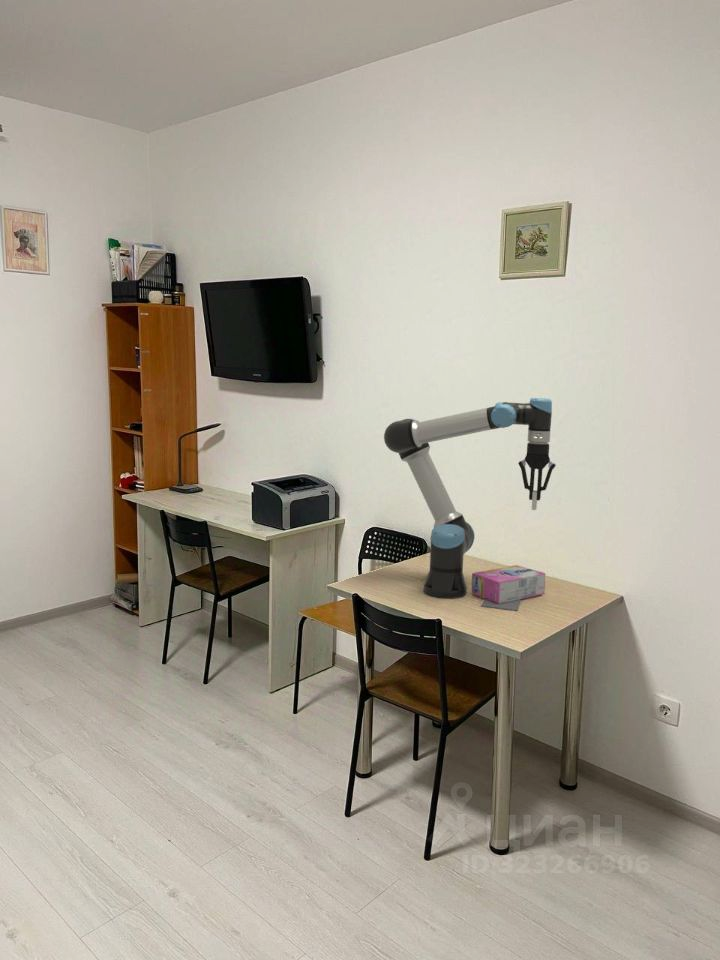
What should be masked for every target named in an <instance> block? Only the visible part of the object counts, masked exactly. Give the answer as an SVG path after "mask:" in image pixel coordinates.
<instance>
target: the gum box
mask: <svg viewBox="0 0 720 960" xmlns="http://www.w3.org/2000/svg"><path fill="white" fill-rule="evenodd" d="M545 584H546V573H545V572H543V571H539V570H535V569H532V568H530V567H529V568H528V567H525V566H521V565H518V564H517V565H516V564H515V565H510V566H506V567H500V568H493V569H490V570H483V571H476V572H472V575H471V594H472V595H474V596H477V597H480V598H483V599H487V600H490V601H492V602H495V603H497V604H501V603H506V602H510V601H514V600H519V599H521V600H522V599H528V598H531V597H536V596H539V595H540V596H541V595H543V594H545V589H546V588H545V586H546V585H545Z"/></svg>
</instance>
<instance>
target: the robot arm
mask: <svg viewBox="0 0 720 960" xmlns="http://www.w3.org/2000/svg"><path fill="white" fill-rule="evenodd" d="M552 406H553V401H552V400H551V398H543V397H531V398H530V399H529V402H528V403H527V402H525V403H522V402H508V401H503V402H502V401H501V402H497V403H495V405H493V406H491V407H490V406H489V407H486V408H481V409H475V410H470V411H465V412H462V413H456V414H453V415H447V416H443V417H438V418H437V417H436V418H433V419H429V420H428V419H427V420H424V421H419V420H417V419H413V418H405V419H400V420H396V421H393V422H392V423H390V424H389V425H388V426H387V427H386V428H385V430H384V434H383V440H384V443H385V445H386V447H387V449H389V450H390V451H392V452H393V453H396V454H398V456H399V457H400V459H401V461H402V462H405V463H407V465H408V467H409V468H410V471H411V472H412V476H413V478H414V479H415V481H416V484H417V485H418V488H419V490H420V492H421V493H422V496H423V499H424V501H425V503H426V505H427V507H428V509H429V511H430V514H431V515H432V517H433V519H434V524H433V527H432V530H431V534H430V553H429V555H430V556H429V571H428V574H427V576H426V579H425V581H424V584H423V592H424V593H425V594H426V595H428V596H431V597H435V598H440V599H457V598H462V597H465V596H466V595H467V591H468V590H467V589H468V588H467V583H466V579H465V576H464V572H463V571H464V570H463V567H464V554H466V553H467V552H468V551H469V550H470V549H471V548H472V547H473V544H474V541H475V538H476V537H475V531H474V529H473V526H472V525H471V524H470V523H469V522H467V521H466V519H465V517H464V515H463V513H461V512H458V511H457V510H456V508H455V505H454V503H453V501H452V499H451V498H450V495H449V493H448V491H447V489H446V486H445V485H444V483H443V481H442V479H441V477H440V473H439V472H438V471H437V467H436V466H435V464H434V461H433V459H432V457H431V455H430V453H429V452H430V449H431V446H430V444H429V443H432V442H437V441H442V440H446V439H452V438H455V437H456V438H457V437H462V436H466V435H471V434H476V433H480V432H486V431H491V430H497V429H505V428H508V427H511V426H512V425H518V426H519V425H522V426H523V425H524V426H527V427H528V428H527V445H526V454H525V457H524V459H522V460H519V461H518V466H519V467H520V471H521V476H522V481H523V487H524V489H525V490H528V491H529V495H528V499H529V501H531V510H532V511H537V508H538V507H537V504H538V501H540V500H541V495H542V492H543V491H546V490H547V488H548V485H549V481H550V478H551V475H552V473H553V470H555V467H556V466H557V464H556V463H555V462H552V461H551V458H550V444H549V443H550V442H551V441H550V440H551V425H552V413H553V410H552V409H553V407H552ZM526 465H528V467H529V468H530V476H529V477H530V479H529V481H528V475H527V471H526ZM546 466H548V469H547V470H548V471H547V473H546V475H545V479H544V483H543V482H542V480H543V469H544V468H545V467H546ZM536 470H537V485H536V486H537V487H536V489H535V490H534V487H535V486H534V485H535V473H536ZM542 483H543V486H542Z"/></svg>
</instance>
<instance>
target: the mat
mask: <svg viewBox="0 0 720 960" xmlns="http://www.w3.org/2000/svg"><path fill="white" fill-rule="evenodd" d="M521 601H522V599H519V600H514V601H510V602H506V603H501V604H497V603H495V602H492V601H490V600H487V599H485V598H483V601H482V603H481V604H480V607H483V608H488V609H496V610H506V611H512V610H514V611H513V612H518V610H519V607H520V605H521Z"/></svg>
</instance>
